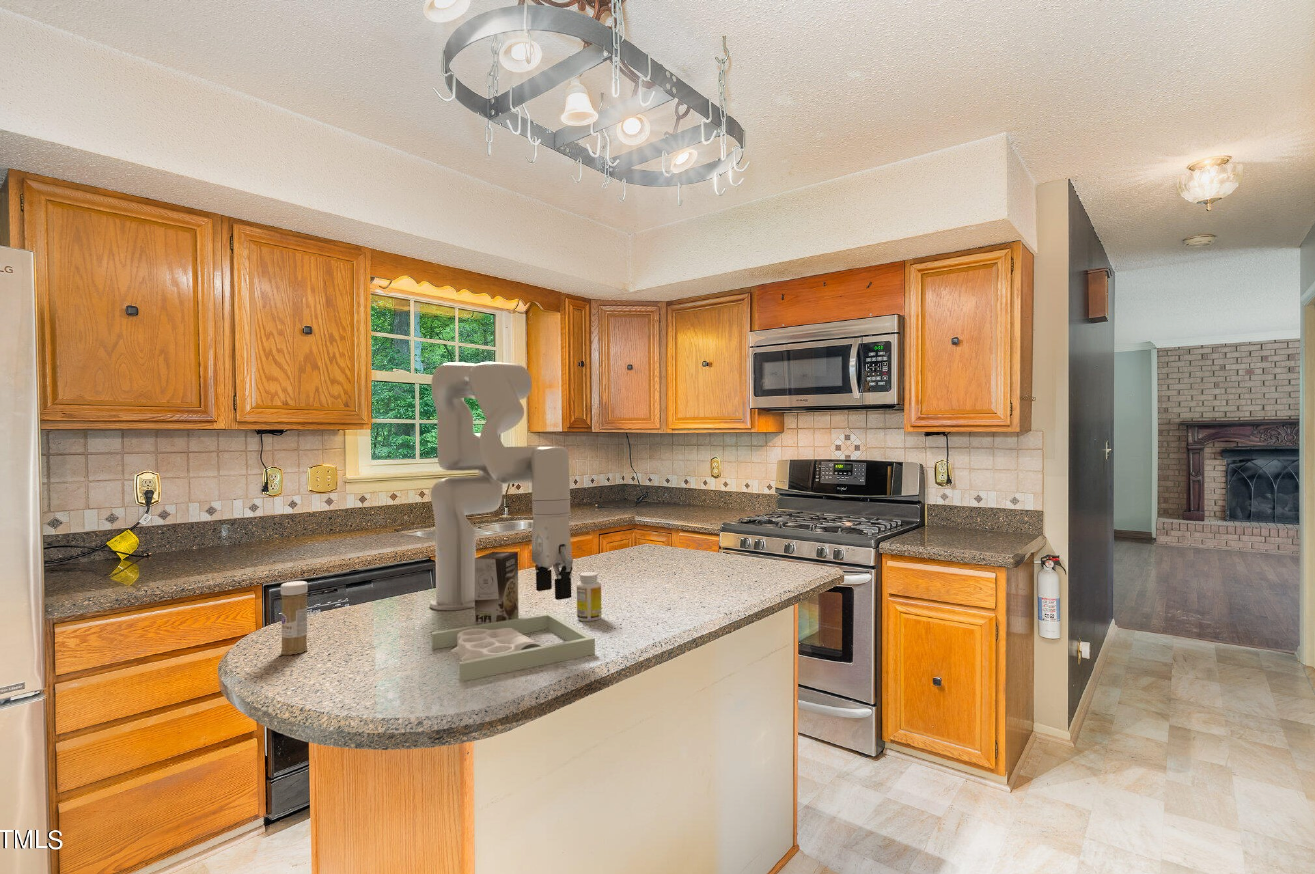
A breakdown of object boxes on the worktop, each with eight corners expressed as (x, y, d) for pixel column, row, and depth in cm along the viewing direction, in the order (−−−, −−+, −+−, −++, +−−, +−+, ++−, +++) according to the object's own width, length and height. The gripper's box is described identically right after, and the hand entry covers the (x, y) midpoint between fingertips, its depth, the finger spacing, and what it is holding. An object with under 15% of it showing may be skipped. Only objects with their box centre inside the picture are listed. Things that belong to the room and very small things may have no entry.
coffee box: (502, 636, 135) (501, 558, 135) (473, 634, 136) (472, 557, 136) (520, 623, 144) (519, 551, 144) (493, 622, 145) (492, 550, 145)
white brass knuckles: (549, 661, 120) (472, 679, 112) (510, 637, 135) (439, 651, 126) (549, 643, 120) (472, 659, 112) (510, 621, 135) (439, 634, 126)
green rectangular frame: (431, 647, 128) (431, 632, 128) (551, 626, 141) (551, 613, 141) (460, 681, 110) (460, 664, 110) (594, 654, 123) (594, 638, 123)
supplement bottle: (602, 615, 150) (602, 571, 150) (600, 622, 144) (599, 576, 144) (578, 615, 150) (578, 571, 150) (575, 622, 145) (574, 576, 145)
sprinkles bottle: (275, 654, 125) (275, 584, 125) (296, 647, 129) (296, 579, 129) (292, 657, 123) (292, 586, 123) (313, 649, 127) (312, 581, 127)
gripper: (518, 507, 135) (520, 589, 135) (550, 512, 120) (552, 605, 120) (552, 504, 139) (554, 584, 139) (587, 509, 124) (589, 599, 124)
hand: (553, 594), depth 129 cm, fingers open, 9 cm apart
